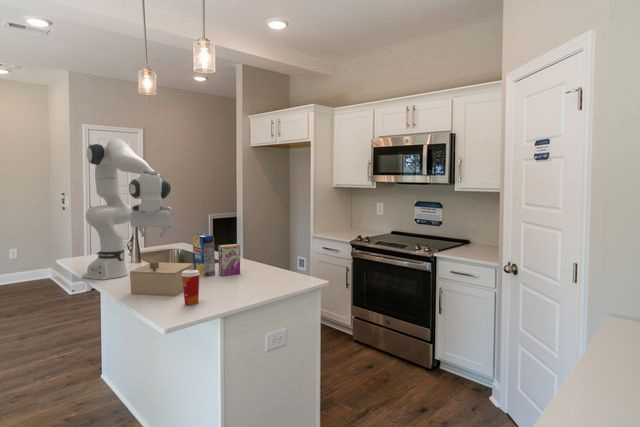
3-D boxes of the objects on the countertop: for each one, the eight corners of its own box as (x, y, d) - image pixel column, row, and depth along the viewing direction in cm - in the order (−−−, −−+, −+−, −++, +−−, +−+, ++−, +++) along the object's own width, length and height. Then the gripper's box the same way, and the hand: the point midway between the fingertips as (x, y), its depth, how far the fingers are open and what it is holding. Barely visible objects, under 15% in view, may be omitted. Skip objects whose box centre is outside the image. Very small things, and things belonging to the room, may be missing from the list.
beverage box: (204, 277, 226) (203, 236, 224) (193, 273, 233) (192, 234, 231) (215, 274, 231) (214, 235, 228) (204, 271, 238) (203, 233, 236)
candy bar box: (221, 276, 227) (220, 246, 225) (218, 274, 231) (217, 245, 229) (240, 273, 233) (240, 244, 231) (237, 272, 237) (236, 243, 235)
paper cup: (184, 300, 184) (183, 269, 183) (202, 300, 185) (201, 269, 183) (180, 306, 176) (179, 273, 175) (198, 305, 177) (197, 273, 175)
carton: (130, 294, 194) (129, 273, 193) (153, 282, 214) (153, 263, 213) (175, 296, 191) (174, 274, 190) (194, 284, 211) (193, 265, 210)
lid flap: (129, 272, 193) (129, 262, 193) (153, 263, 213) (152, 254, 212) (174, 274, 190) (174, 264, 189) (193, 264, 210) (193, 255, 209)
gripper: (176, 206, 192) (177, 236, 194) (135, 206, 195) (136, 235, 196) (169, 207, 186) (171, 238, 187) (127, 207, 189) (128, 237, 190)
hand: (153, 236), depth 192 cm, fingers open, 8 cm apart
